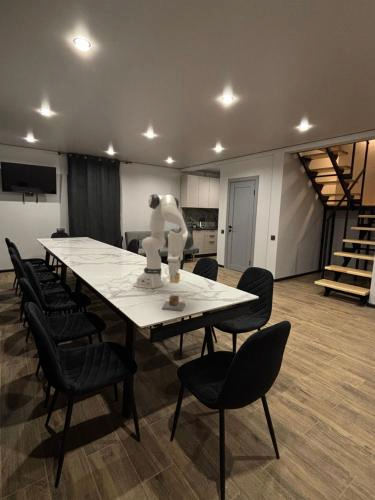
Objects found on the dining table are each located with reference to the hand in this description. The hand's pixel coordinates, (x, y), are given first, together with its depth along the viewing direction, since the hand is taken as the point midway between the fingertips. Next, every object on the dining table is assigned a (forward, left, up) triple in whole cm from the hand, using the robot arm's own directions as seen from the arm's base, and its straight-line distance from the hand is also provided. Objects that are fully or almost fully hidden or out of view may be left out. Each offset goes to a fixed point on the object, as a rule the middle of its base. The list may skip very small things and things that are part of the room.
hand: (174, 279), depth 160 cm
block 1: (0, 0, -2) cm, 2 cm away
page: (-1, +12, -17) cm, 21 cm away
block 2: (0, 0, -16) cm, 16 cm away
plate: (0, 0, -17) cm, 17 cm away
